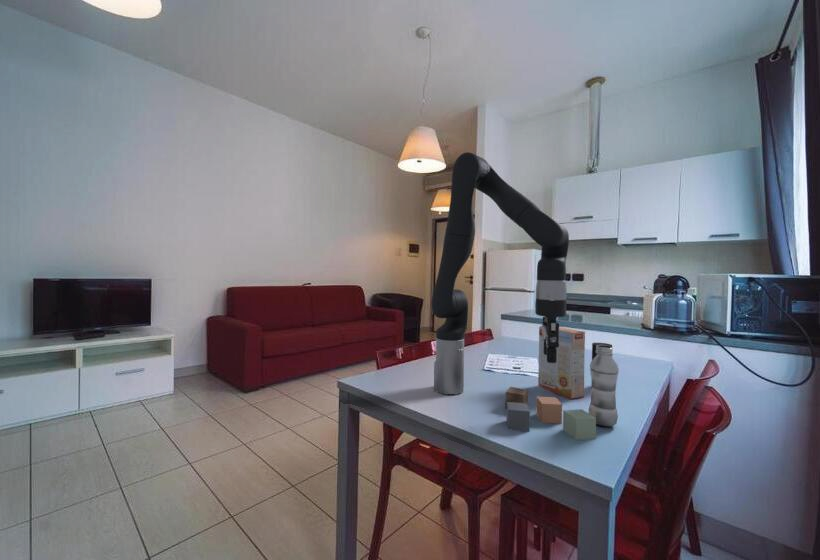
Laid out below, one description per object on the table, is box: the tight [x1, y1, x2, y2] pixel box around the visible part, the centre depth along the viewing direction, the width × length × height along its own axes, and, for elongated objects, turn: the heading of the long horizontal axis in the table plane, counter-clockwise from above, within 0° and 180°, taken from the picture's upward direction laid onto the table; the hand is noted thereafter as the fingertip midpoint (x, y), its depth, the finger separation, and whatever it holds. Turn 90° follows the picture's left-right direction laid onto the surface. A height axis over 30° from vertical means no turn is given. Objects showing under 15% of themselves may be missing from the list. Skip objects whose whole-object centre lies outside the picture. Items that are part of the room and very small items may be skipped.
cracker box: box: [537, 325, 586, 400], centre depth 108 cm, size 14×6×21 cm, turn 22°
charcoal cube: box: [506, 402, 531, 432], centre depth 83 cm, size 5×5×5 cm
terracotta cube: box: [536, 396, 563, 425], centre depth 87 cm, size 5×5×5 cm
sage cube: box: [562, 408, 597, 441], centre depth 79 cm, size 5×5×5 cm
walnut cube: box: [505, 386, 529, 410], centre depth 94 cm, size 5×5×5 cm
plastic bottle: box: [588, 345, 620, 428], centre depth 84 cm, size 6×7×20 cm
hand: (549, 358), depth 87 cm, fingers open, 8 cm apart
